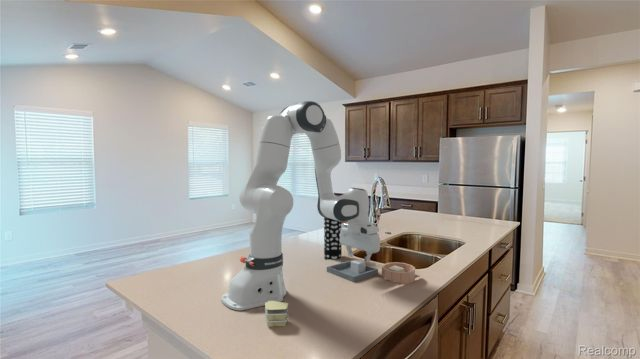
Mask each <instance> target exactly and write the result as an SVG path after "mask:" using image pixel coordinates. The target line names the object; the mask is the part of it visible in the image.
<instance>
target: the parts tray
mask: <svg viewBox="0 0 640 359" xmlns="http://www.w3.org/2000/svg"><path fill="white" fill-rule="evenodd" d="M351 261H353V260H347V261H343V262H339V263H336V264H333V265H329V266H326V273H329V274H332V275H333V276H337V277H339V278H341V279H344V280H347V281H349V282H352V283H355V282H358V281H361V280H364V279H367V278H370V277H373V276H376V275H378V274H379V269H378V268H376V267H373V266H370V265H367V264H366V271H364V272H361V273H356V272H353V271H351Z"/></svg>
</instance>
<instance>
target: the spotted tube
mask: <svg viewBox="0 0 640 359" xmlns="http://www.w3.org/2000/svg"><path fill="white" fill-rule="evenodd" d="M323 226H324V227H323V239H324V241H323V243H324V244H323V252H324V253H323V256H324V257H323V258H324V259H323V260H325V261H329V260H339V259H342V254H343V252H342V244H341V243H340V231H341V226H342V221H337V220H333V219H329V218H324V217H323Z"/></svg>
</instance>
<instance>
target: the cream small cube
mask: <svg viewBox="0 0 640 359" xmlns="http://www.w3.org/2000/svg"><path fill="white" fill-rule="evenodd" d="M388 270H390V271H395V272H404V268H402V267H398V266H392V267H389V268H388Z"/></svg>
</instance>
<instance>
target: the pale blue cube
mask: <svg viewBox="0 0 640 359" xmlns="http://www.w3.org/2000/svg"><path fill="white" fill-rule="evenodd" d="M366 263H367V262H366V261H365V260H361V259H353V260H352V261H351V271H353V272H356V273H361V272H364V271H366V265H367V264H366Z"/></svg>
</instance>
